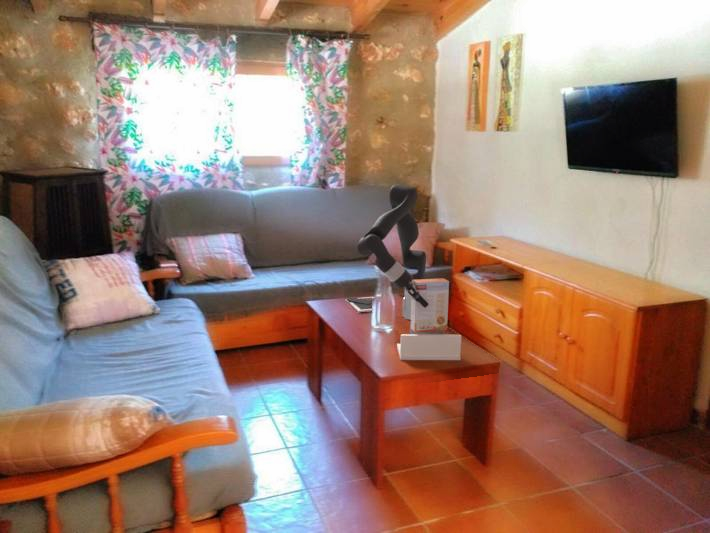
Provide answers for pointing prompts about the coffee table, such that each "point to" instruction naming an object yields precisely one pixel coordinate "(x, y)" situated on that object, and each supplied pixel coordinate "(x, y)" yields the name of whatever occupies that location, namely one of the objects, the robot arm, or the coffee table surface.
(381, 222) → the robot arm
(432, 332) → the bookend
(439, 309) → the cracker box
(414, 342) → the book rack
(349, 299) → the picture frame
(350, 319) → the coffee table surface
